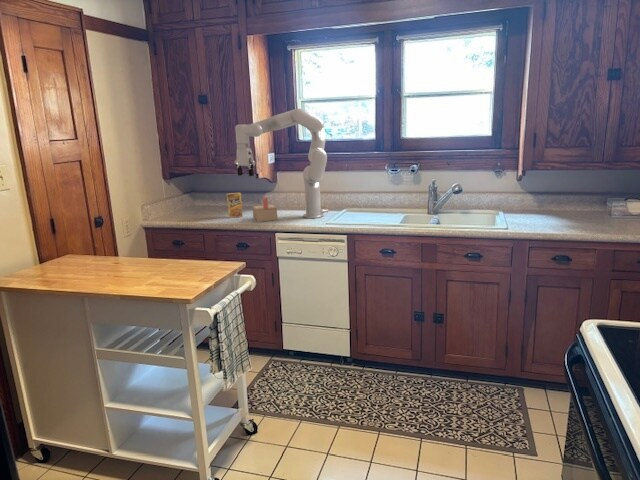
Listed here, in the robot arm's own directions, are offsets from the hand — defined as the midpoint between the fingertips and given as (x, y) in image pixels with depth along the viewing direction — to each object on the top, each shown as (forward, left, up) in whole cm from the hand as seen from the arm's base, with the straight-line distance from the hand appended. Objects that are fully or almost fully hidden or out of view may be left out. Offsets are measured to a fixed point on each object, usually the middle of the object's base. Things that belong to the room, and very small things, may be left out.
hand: (245, 175), depth 287 cm
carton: (-11, -6, -28) cm, 31 cm away
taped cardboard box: (-11, -5, -21) cm, 24 cm away
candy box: (+6, -22, -29) cm, 36 cm away
